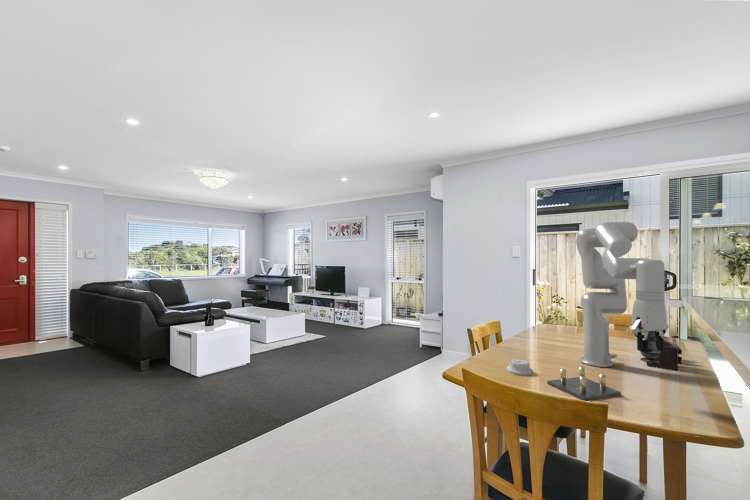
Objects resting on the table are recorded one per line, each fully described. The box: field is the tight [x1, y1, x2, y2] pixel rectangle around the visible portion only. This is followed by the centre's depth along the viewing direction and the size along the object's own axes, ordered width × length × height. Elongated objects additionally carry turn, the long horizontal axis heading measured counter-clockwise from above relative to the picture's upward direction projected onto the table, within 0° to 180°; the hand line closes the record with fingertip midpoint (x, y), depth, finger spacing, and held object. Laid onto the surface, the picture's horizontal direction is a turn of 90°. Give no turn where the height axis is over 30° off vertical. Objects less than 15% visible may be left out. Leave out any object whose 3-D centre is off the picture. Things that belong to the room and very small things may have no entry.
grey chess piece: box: [639, 331, 661, 363], centre depth 117 cm, size 6×6×12 cm
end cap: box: [678, 346, 683, 365], centre depth 161 cm, size 10×7×7 cm
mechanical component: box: [506, 358, 534, 376], centre depth 146 cm, size 10×4×10 cm
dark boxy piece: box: [645, 337, 679, 372], centre depth 152 cm, size 16×11×18 cm
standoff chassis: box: [547, 366, 622, 401], centre depth 126 cm, size 16×16×6 cm
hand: (650, 349), depth 118 cm, fingers closed on grey chess piece, 5 cm apart
